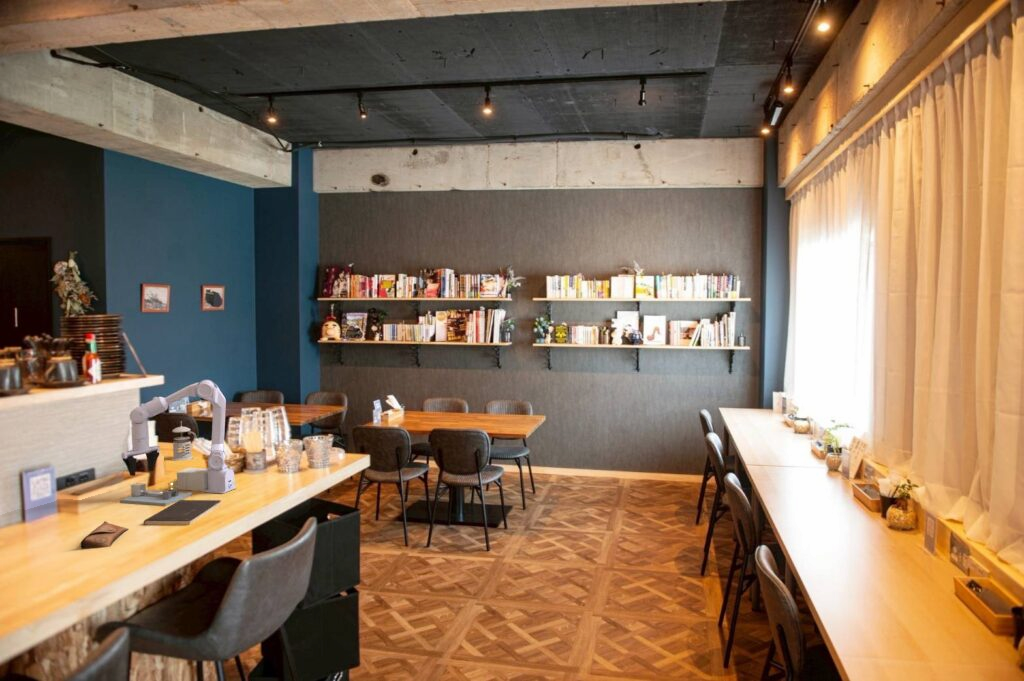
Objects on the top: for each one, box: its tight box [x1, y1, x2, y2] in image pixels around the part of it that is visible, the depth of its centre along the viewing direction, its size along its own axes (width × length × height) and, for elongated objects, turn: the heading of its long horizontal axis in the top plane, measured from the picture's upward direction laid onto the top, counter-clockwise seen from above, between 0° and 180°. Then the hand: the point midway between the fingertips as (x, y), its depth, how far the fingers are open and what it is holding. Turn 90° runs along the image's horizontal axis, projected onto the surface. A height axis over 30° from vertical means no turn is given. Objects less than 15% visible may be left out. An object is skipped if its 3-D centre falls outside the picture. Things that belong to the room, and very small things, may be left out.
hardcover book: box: [143, 499, 222, 526], centre depth 246 cm, size 16×23×2 cm
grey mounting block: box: [162, 487, 180, 500], centre depth 264 cm, size 2×6×3 cm, turn 167°
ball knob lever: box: [167, 478, 178, 490], centre depth 266 cm, size 2×6×2 cm, turn 5°
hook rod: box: [130, 482, 163, 496], centre depth 266 cm, size 14×3×4 cm, turn 77°
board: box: [119, 489, 193, 507], centre depth 265 cm, size 20×14×1 cm
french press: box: [170, 406, 197, 462], centre depth 334 cm, size 10×12×25 cm
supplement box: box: [176, 467, 208, 492], centre depth 280 cm, size 7×7×13 cm
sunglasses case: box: [80, 520, 129, 550], centre depth 221 cm, size 18×7×7 cm
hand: (141, 473), depth 267 cm, fingers open, 7 cm apart
